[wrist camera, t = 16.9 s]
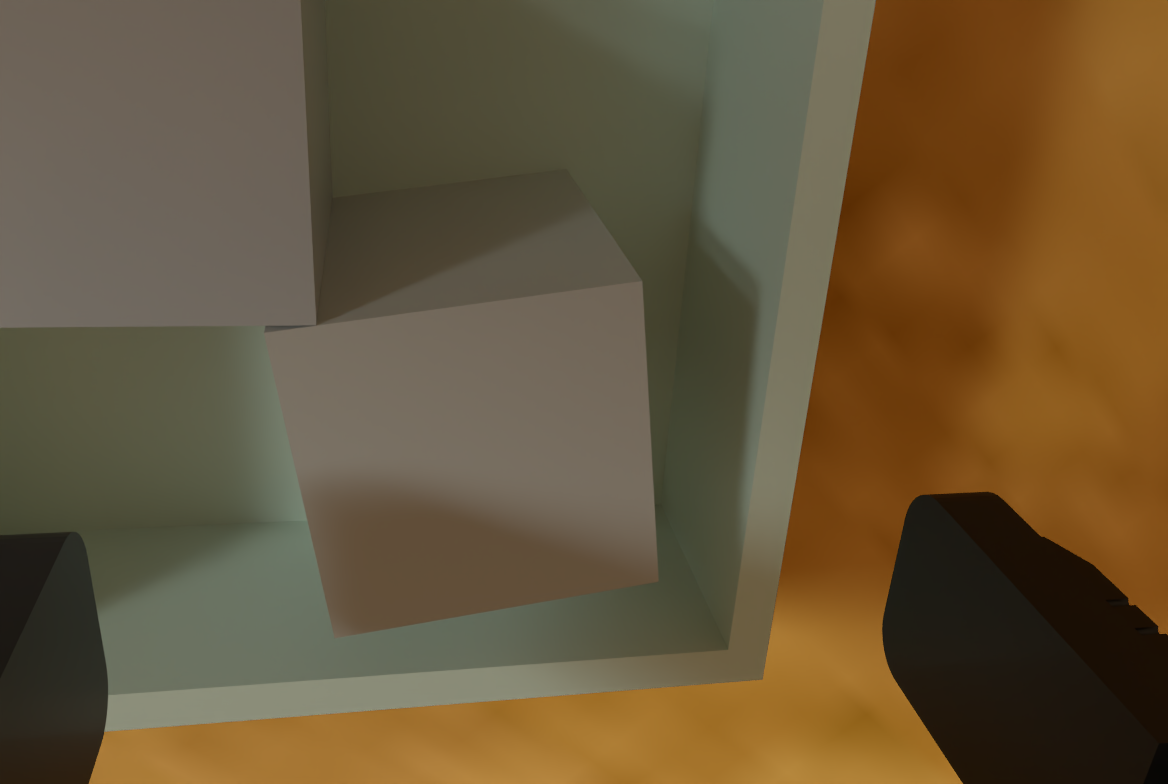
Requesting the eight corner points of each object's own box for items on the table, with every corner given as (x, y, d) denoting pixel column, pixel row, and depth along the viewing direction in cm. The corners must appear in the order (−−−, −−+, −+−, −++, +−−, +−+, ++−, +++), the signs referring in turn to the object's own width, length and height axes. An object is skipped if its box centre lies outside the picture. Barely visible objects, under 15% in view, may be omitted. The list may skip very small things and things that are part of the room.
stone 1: (-17, -129, 13) (-220, -135, 8) (320, -106, 14) (295, -101, 9) (36, 192, 15) (-112, 328, 10) (332, 197, 15) (316, 325, 11)
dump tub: (-238, -342, 12) (-549, -458, 8) (768, -248, 14) (925, -300, 10) (-34, 547, 17) (-159, 751, 13) (681, 513, 20) (762, 679, 15)
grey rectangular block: (295, 202, 15) (263, 332, 11) (566, 169, 16) (642, 280, 11) (344, 441, 17) (334, 638, 13) (586, 405, 17) (658, 581, 13)
